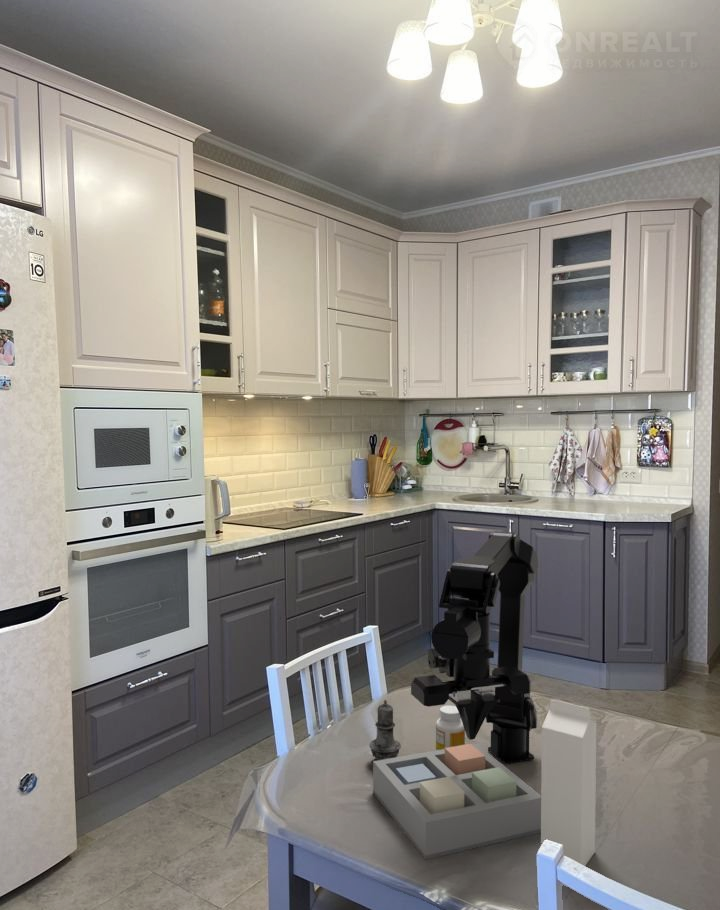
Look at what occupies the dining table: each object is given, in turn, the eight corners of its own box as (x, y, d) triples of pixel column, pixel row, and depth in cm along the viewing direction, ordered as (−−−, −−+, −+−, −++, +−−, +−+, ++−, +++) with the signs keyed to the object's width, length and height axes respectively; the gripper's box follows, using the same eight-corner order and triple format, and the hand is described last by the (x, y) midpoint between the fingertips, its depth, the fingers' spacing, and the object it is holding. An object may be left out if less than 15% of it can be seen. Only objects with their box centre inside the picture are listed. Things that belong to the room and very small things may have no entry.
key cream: (448, 803, 108) (448, 776, 108) (464, 819, 103) (464, 791, 103) (419, 808, 106) (419, 782, 106) (434, 825, 101) (434, 797, 101)
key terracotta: (470, 767, 120) (470, 743, 120) (485, 780, 115) (485, 756, 115) (444, 772, 118) (444, 748, 118) (458, 785, 113) (459, 760, 113)
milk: (555, 838, 103) (556, 692, 103) (595, 852, 100) (597, 701, 100) (539, 857, 99) (541, 704, 98) (581, 873, 95) (583, 714, 95)
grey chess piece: (398, 773, 124) (398, 707, 123) (366, 769, 125) (366, 704, 125) (402, 758, 129) (403, 695, 129) (372, 755, 130) (372, 692, 130)
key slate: (422, 788, 117) (422, 763, 116) (436, 802, 112) (436, 777, 112) (395, 793, 115) (395, 768, 115) (408, 808, 110) (408, 782, 110)
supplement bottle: (466, 756, 130) (467, 705, 130) (461, 769, 125) (462, 716, 125) (439, 752, 132) (439, 702, 132) (432, 764, 127) (433, 712, 127)
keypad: (475, 773, 124) (476, 743, 123) (542, 832, 105) (543, 797, 105) (373, 792, 116) (373, 761, 116) (425, 859, 98) (425, 822, 98)
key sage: (498, 792, 111) (498, 767, 111) (516, 808, 107) (516, 781, 106) (471, 798, 109) (471, 772, 109) (488, 814, 105) (488, 786, 105)
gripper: (497, 623, 120) (496, 712, 120) (398, 632, 114) (397, 726, 114) (533, 641, 109) (532, 738, 109) (425, 652, 103) (425, 755, 103)
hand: (470, 738), depth 109 cm, fingers closed
